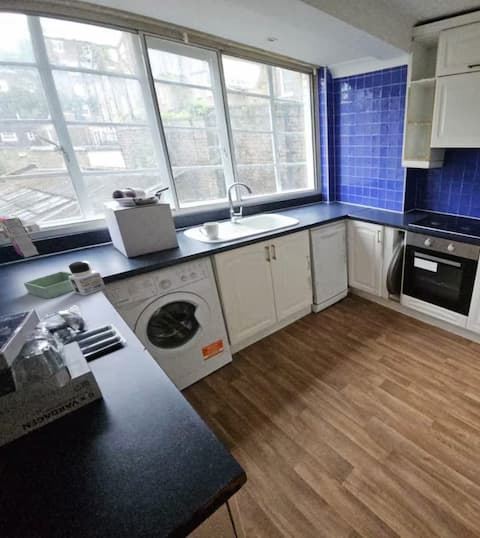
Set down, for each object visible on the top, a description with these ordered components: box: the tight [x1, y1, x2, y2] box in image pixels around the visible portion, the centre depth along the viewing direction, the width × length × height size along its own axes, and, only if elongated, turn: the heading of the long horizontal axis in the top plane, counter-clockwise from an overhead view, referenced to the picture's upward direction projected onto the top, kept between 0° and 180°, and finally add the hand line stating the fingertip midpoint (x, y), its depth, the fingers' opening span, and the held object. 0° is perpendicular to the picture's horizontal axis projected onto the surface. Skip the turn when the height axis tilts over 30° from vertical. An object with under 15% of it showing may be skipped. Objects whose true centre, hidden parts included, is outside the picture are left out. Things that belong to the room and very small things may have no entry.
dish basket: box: [23, 270, 74, 300], centre depth 128 cm, size 13×16×5 cm
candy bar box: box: [0, 214, 40, 259], centre depth 124 cm, size 11×5×16 cm, turn 58°
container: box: [68, 260, 106, 296], centre depth 124 cm, size 8×8×13 cm
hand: (16, 233), depth 124 cm, fingers closed on candy bar box, 5 cm apart
